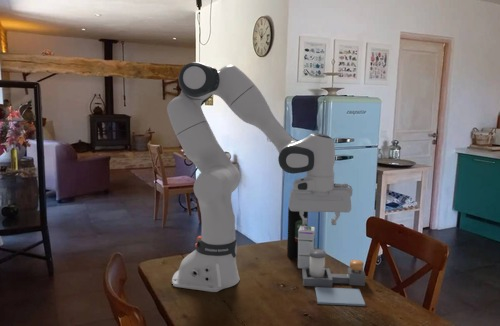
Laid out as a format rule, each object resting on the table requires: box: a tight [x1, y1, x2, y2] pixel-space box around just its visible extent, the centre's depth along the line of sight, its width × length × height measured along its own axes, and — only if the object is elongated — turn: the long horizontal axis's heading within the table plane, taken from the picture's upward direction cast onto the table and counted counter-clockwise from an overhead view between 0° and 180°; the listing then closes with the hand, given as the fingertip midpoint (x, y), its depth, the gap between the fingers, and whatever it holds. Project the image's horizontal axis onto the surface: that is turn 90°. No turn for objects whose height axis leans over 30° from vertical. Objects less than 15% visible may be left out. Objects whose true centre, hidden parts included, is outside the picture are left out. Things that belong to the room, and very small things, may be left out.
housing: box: [301, 267, 366, 288], centre depth 140 cm, size 20×9×4 cm, turn 85°
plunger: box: [349, 259, 364, 272], centre depth 139 cm, size 4×4×6 cm
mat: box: [314, 286, 366, 307], centre depth 129 cm, size 14×10×1 cm
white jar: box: [308, 248, 327, 278], centre depth 140 cm, size 5×5×10 cm
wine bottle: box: [286, 206, 309, 260], centre depth 161 cm, size 8×8×30 cm
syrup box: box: [297, 225, 316, 270], centre depth 152 cm, size 6×6×14 cm
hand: (319, 224), depth 138 cm, fingers open, 8 cm apart
